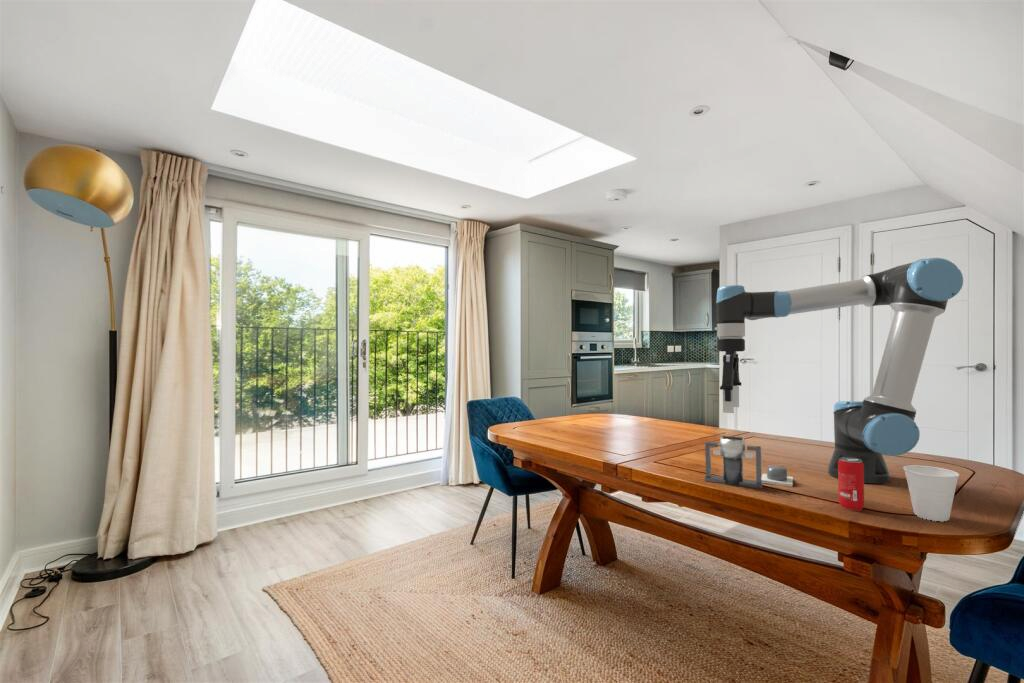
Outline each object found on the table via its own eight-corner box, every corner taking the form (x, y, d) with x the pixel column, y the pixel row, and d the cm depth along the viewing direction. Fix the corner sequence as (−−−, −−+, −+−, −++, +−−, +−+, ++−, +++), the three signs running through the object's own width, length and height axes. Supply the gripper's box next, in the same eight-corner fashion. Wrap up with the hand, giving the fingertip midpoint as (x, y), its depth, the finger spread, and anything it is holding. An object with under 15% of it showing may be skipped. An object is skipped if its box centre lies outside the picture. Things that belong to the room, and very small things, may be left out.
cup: (914, 522, 107) (913, 474, 107) (896, 508, 116) (895, 463, 116) (970, 528, 103) (969, 478, 103) (947, 512, 112) (946, 467, 112)
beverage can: (833, 504, 119) (832, 457, 119) (852, 503, 119) (851, 456, 119) (850, 511, 114) (849, 462, 114) (869, 510, 114) (869, 461, 114)
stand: (792, 479, 141) (792, 466, 141) (792, 486, 134) (792, 472, 134) (762, 475, 145) (762, 463, 145) (760, 482, 138) (760, 469, 138)
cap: (753, 455, 138) (753, 436, 138) (751, 460, 133) (751, 440, 133) (715, 451, 144) (714, 433, 144) (711, 456, 138) (711, 437, 138)
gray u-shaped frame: (762, 484, 136) (762, 445, 136) (761, 489, 132) (760, 449, 132) (707, 477, 144) (706, 440, 144) (704, 481, 140) (703, 443, 140)
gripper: (722, 338, 151) (723, 404, 151) (710, 338, 130) (710, 414, 130) (748, 338, 147) (749, 405, 147) (740, 337, 126) (740, 416, 126)
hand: (731, 409), depth 138 cm, fingers open, 13 cm apart
